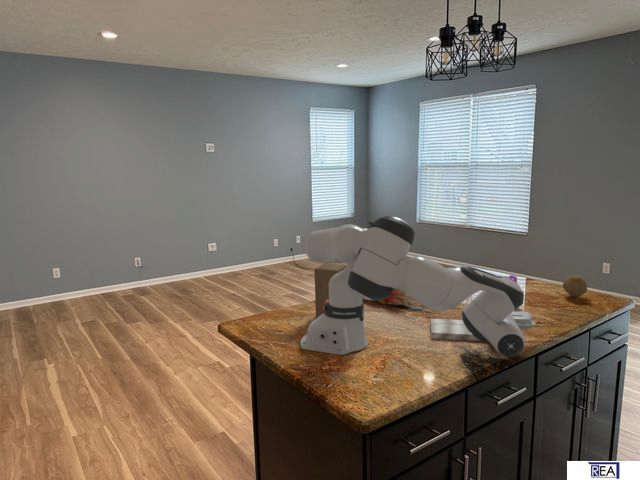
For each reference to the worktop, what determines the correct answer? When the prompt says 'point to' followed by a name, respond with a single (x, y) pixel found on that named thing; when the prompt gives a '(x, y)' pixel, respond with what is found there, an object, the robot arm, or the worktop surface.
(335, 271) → the wooden block
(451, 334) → the birch board
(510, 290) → the robot arm
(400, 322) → the worktop surface
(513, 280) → the bracket
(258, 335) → the worktop surface
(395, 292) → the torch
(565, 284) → the natural sponge
